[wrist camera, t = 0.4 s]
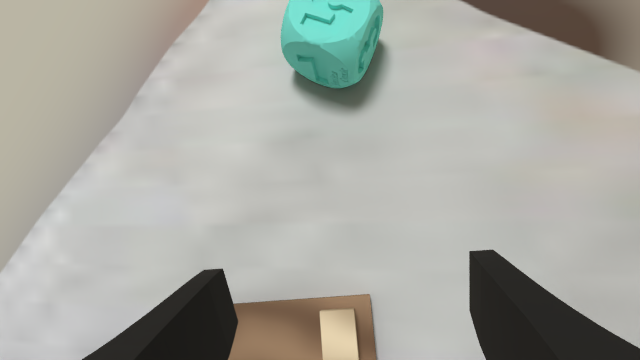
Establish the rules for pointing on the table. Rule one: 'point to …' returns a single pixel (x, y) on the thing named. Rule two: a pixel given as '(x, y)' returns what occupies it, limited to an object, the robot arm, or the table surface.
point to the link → (339, 334)
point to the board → (296, 328)
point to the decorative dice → (331, 39)
